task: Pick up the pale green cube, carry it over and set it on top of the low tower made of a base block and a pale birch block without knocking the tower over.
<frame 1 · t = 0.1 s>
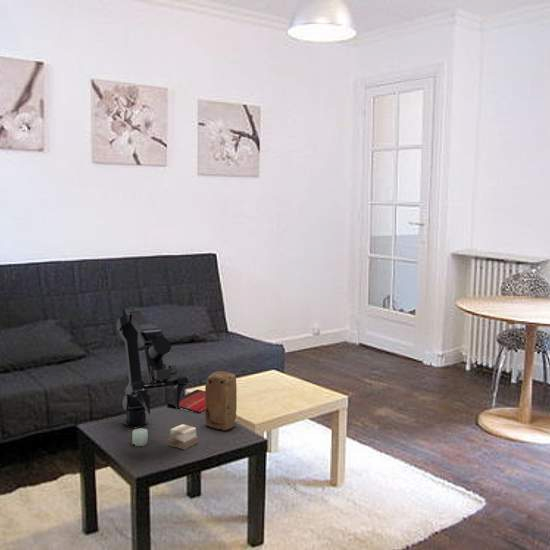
hand: (163, 411, 203), 15 cm above the table, tool tilted 30°, fingers open, 9 cm apart
tower top: (183, 437, 214), point 3 cm above the table
pale green cube: (140, 444, 214), on the table
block: (219, 427, 231), on the table
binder: (198, 404, 257), on the table
tower base: (183, 445, 215), on the table
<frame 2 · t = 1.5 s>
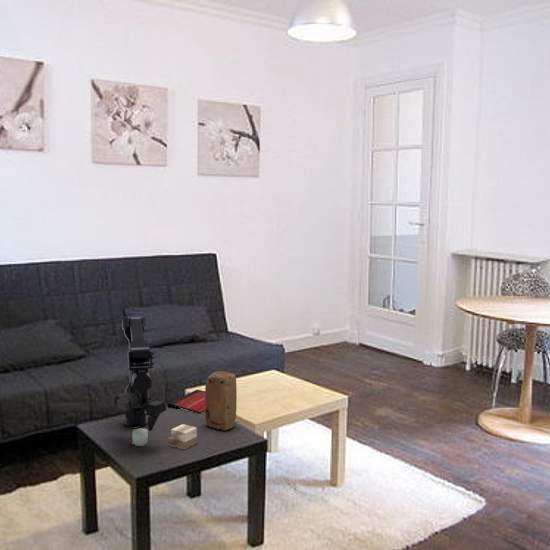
hand: (140, 428, 214), 5 cm above the table, tool pointing down, fingers open, 9 cm apart
nothing on the table moved.
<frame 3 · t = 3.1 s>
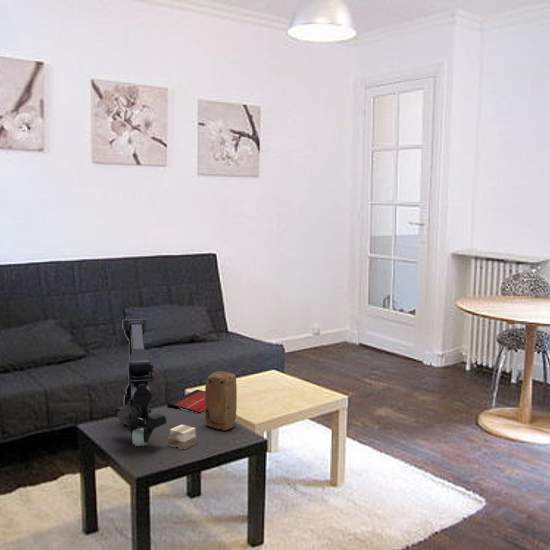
hand: (140, 440, 214), 1 cm above the table, tool pointing down, fingers closed on pale green cube, 5 cm apart
tower top: (182, 437, 214), point 3 cm above the table, touching tower base
pale green cube: (140, 443, 214), on the table, touching gripper
tower base: (182, 445, 215), on the table, touching tower top
everything else where it was.
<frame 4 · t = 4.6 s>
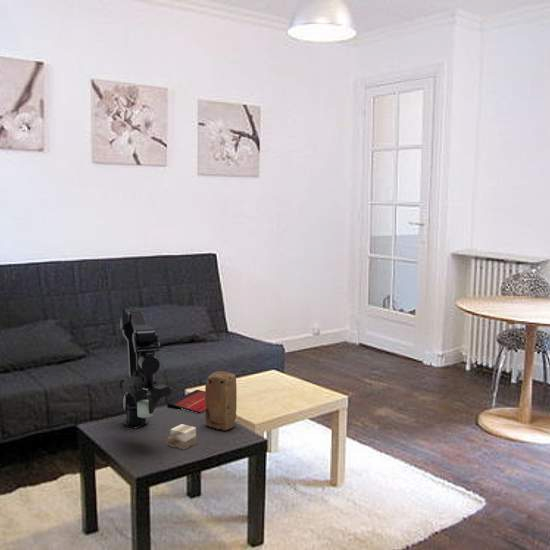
hand: (145, 412, 213), 11 cm above the table, tool pointing down, fingers closed on pale green cube, 5 cm apart
tower top: (183, 437, 214), point 3 cm above the table
pale green cube: (145, 415, 213), point 10 cm above the table, touching gripper
tower base: (182, 445, 215), on the table
everything else where it was.
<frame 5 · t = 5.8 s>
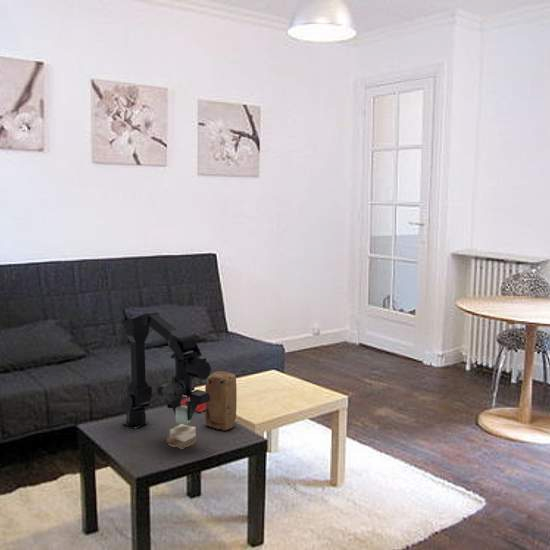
hand: (183, 418, 214), 9 cm above the table, tool pointing down, fingers closed on pale green cube, 5 cm apart
tower top: (182, 436, 214), point 3 cm above the table, touching tower base
pale green cube: (183, 421, 214), point 8 cm above the table, touching gripper
tower base: (181, 445, 215), on the table, touching tower top
everything else where it was.
when the fingers open (8 cm above the table, at t = 6.8 s): pale green cube drops 1 cm, resting on tower top.
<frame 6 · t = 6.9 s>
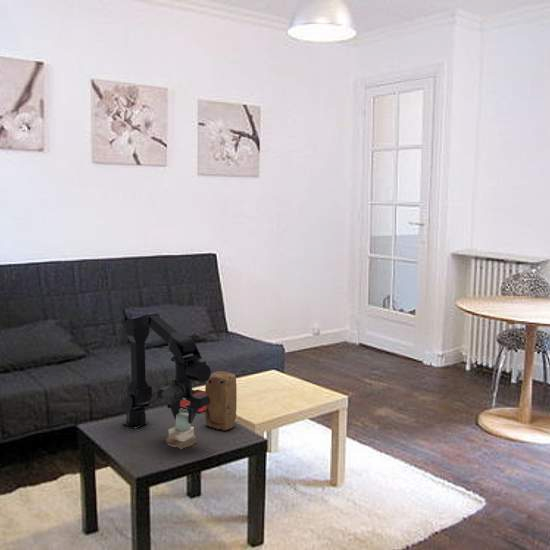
hand: (183, 421, 214), 8 cm above the table, tool pointing down, fingers open, 6 cm apart
tower top: (181, 436, 215), point 2 cm above the table, touching pale green cube
pale green cube: (183, 428, 214), point 6 cm above the table, touching tower top
tower base: (181, 445, 215), on the table
everything else where it was.
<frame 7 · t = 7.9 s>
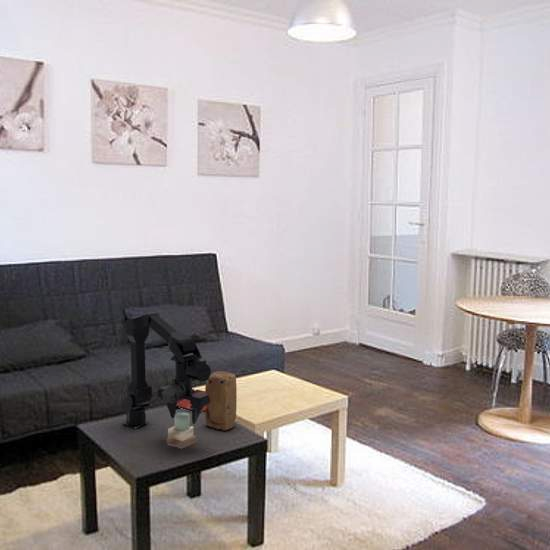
hand: (183, 420, 214), 8 cm above the table, tool pointing down, fingers open, 9 cm apart
tower top: (180, 436, 215), point 2 cm above the table, touching pale green cube, tower base
tower base: (181, 445, 215), on the table, touching tower top
everything else where it was.
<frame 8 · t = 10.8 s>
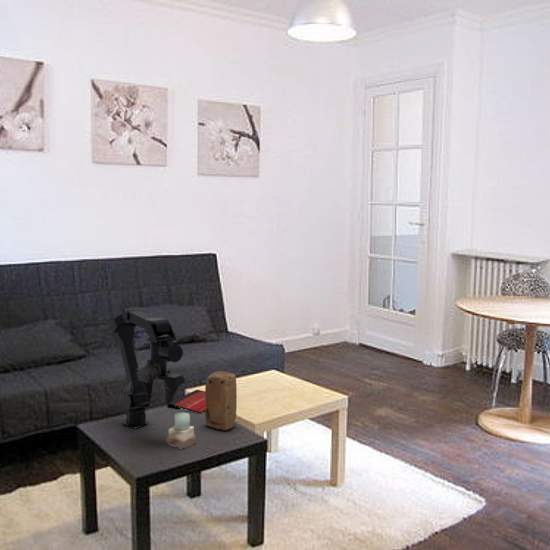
hand: (158, 400, 219), 13 cm above the table, tool pointing down, fingers open, 9 cm apart
nothing on the table moved.
at the end: pale green cube 0.3 cm off-centre on the tower top, point 3.0 cm above the tower top's base; tower top 0.1 cm off-centre on the tower base, point 3.0 cm above the tower base's base; the gripper is holding nothing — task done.
